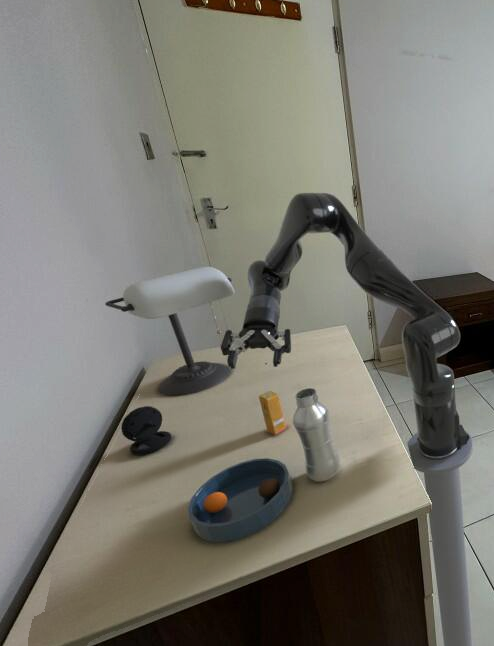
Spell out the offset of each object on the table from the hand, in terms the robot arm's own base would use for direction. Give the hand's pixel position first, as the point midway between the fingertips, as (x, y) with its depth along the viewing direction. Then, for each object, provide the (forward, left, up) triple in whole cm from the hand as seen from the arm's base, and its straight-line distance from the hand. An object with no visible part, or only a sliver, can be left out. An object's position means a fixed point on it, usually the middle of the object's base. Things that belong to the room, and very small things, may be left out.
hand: (254, 365), depth 91 cm
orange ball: (+6, +24, -15) cm, 29 cm away
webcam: (+26, -4, -18) cm, 31 cm away
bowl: (+2, +24, -18) cm, 30 cm away
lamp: (+23, -33, -18) cm, 44 cm away
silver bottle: (-13, +22, -18) cm, 31 cm away
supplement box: (-1, +1, -18) cm, 18 cm away
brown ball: (-3, +24, -15) cm, 29 cm away
